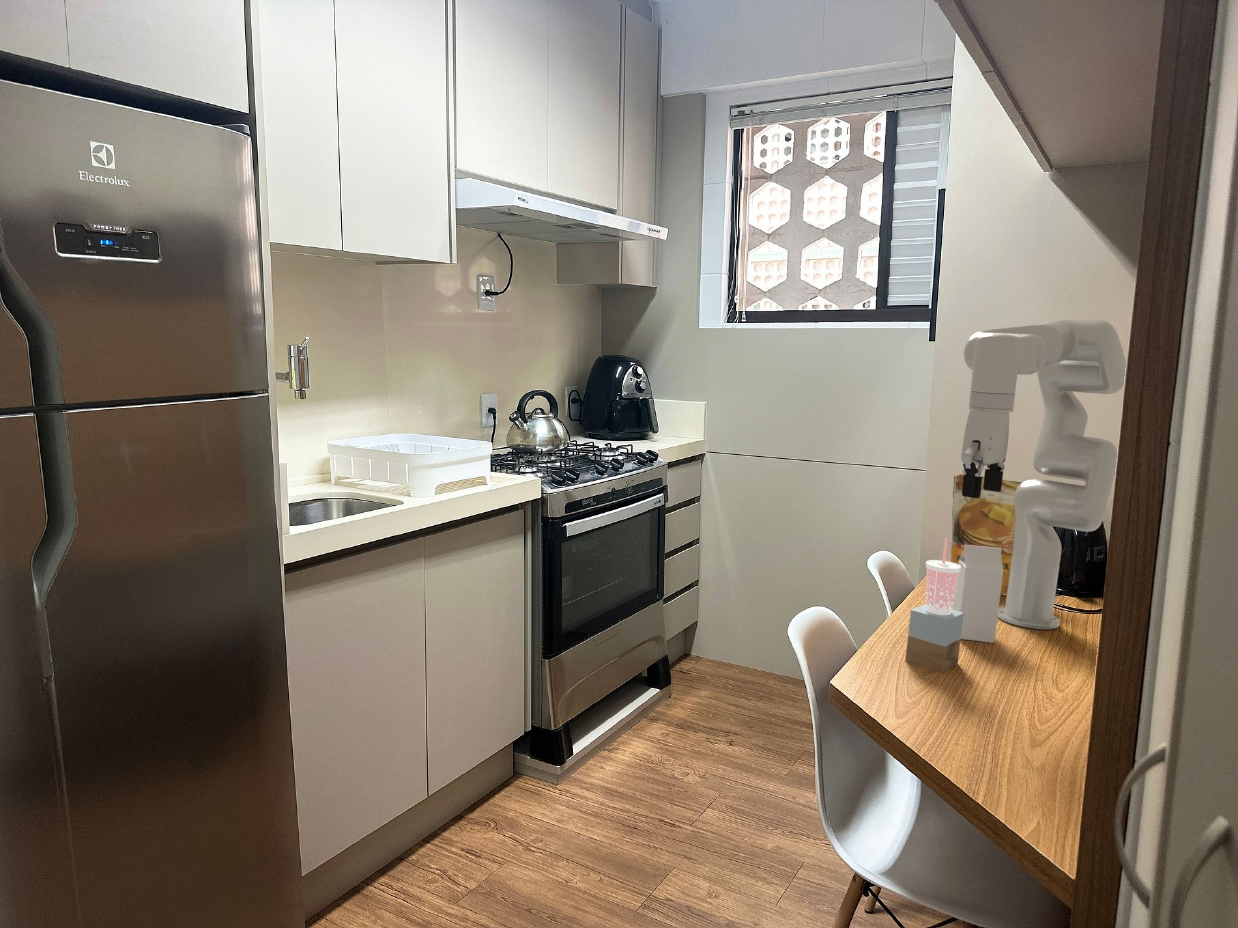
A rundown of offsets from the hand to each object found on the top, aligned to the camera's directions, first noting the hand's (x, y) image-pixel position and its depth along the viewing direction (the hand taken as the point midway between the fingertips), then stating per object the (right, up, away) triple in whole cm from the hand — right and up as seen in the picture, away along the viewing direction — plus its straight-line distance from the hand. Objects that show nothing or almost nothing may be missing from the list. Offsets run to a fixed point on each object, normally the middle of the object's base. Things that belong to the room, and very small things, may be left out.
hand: (981, 493), depth 156 cm
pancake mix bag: (+23, -26, +54) cm, 64 cm away
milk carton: (+6, -30, +17) cm, 35 cm away
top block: (-9, -27, 0) cm, 28 cm away
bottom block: (-9, -32, +1) cm, 33 cm away
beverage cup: (-8, -22, 0) cm, 24 cm away
